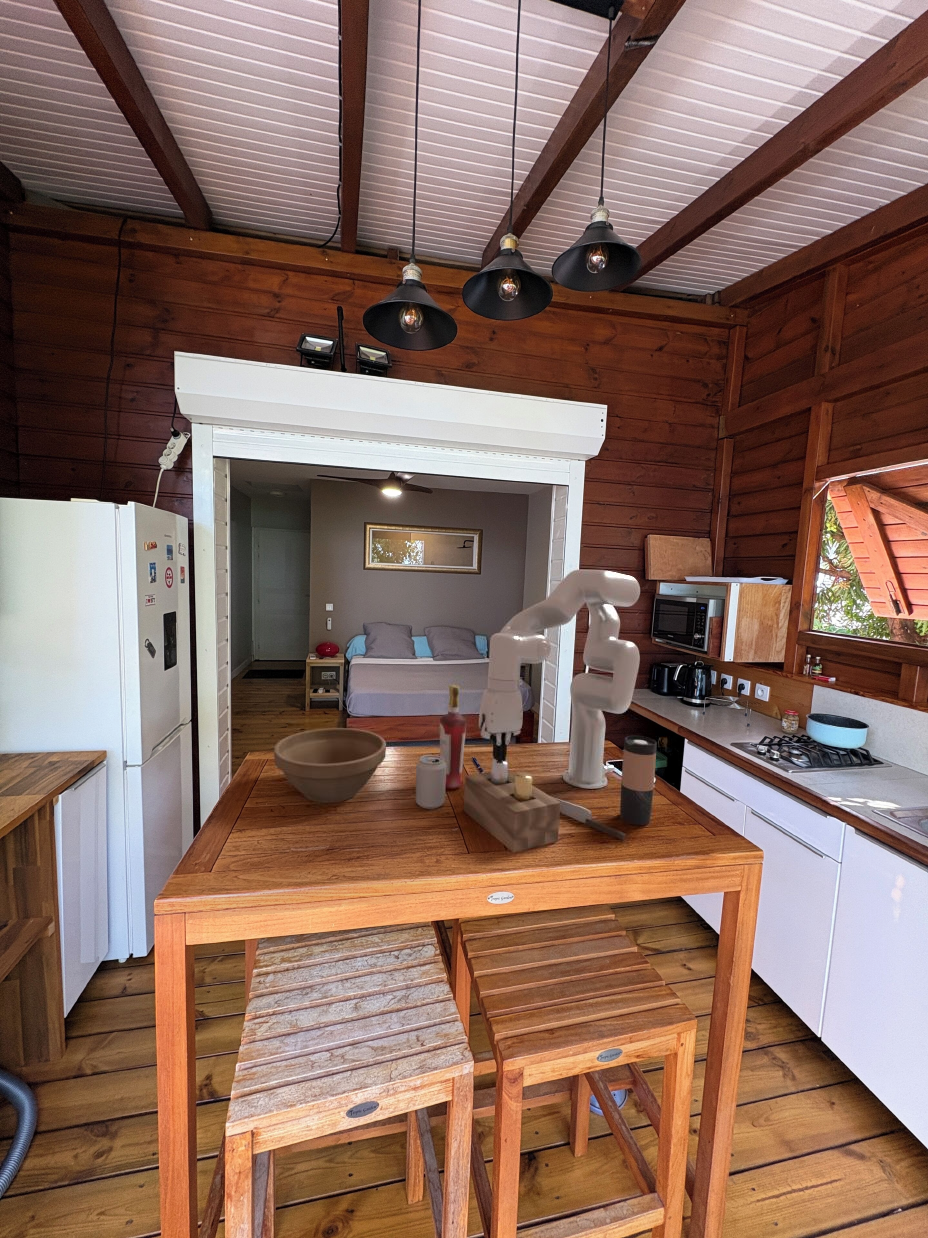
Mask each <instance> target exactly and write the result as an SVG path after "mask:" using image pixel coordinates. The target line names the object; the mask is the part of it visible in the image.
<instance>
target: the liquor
mask: <svg viewBox="0 0 928 1238" xmlns="http://www.w3.org/2000/svg"><path fill="white" fill-rule="evenodd" d="M448 690H449V702H448V710H447V713H446V714H443V716H440V718H439V749H440V752H439V756H441V757H443V758H444V762H445V763H446V784H445V790H456V789H458V788H460V787H461V786H462V784H463V782H464V781H463V779H462V776H463V764H464V762H463V761H464V753H465V752H464V751H465V742H466V741H465V740H466V730H467V718H466V717H464V716H463V715H462V714H460V712H459V711H460V710H459V696H460V686H458V685H449V689H448Z"/></svg>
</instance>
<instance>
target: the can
mask: <svg viewBox="0 0 928 1238" xmlns="http://www.w3.org/2000/svg"><path fill="white" fill-rule="evenodd" d="M415 773H416V774H415V775H416V778H415V803H416V804H417V805H418V806H419V807H420V808H423V809H427V810H429V809H430V810H433V809H439V808H440V807H441V806H442V805H443V804H444V803H445V801H446V789H445V784H446V763H445V762H444V758H443V757H441V756H440V755H438V754H425V755H422V756H420V757H419V761H418V762H417V763H416V772H415Z"/></svg>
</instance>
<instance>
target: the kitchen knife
mask: <svg viewBox="0 0 928 1238" xmlns="http://www.w3.org/2000/svg"><path fill="white" fill-rule="evenodd" d="M549 796H550V797H552V798H554V799H555V800H557V801H559V802H560V813H561V814H563V815H564V816H567V817H570V818H572V819H574V820H576V821H578V822H581V823H583V824H585V825H587V826H588V827H590V828H593V829H596V830H597V831H600V832H602V833H605V834H607V835H609V836H611V837H613V838H616V839H619V840H620V841H624V840H626V838H627V837H626V836H627V835H626V833H625V832H623V831H621V830H618V829H616V828H613V827H610V826H608V825H607V824H605V823H602V822H600V821H598V820H595V819H593V818H592V817H593V816H592V812H591V810H590V809H588V808H585V807H584V806H580V805H578V804H575V803H572V802H569V801H566V800H563V799H559V798H556V797H554V796H551V795H549Z"/></svg>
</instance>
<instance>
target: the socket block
mask: <svg viewBox="0 0 928 1238" xmlns="http://www.w3.org/2000/svg"><path fill="white" fill-rule="evenodd" d="M515 774H516V773H513V772H512V771H511V770H509V769H508V774H507V784H503V785H497V786H496V785H494V784H493V783H491V770H490V771H486V772H485V771H484V772H480V773H479V772H478V773H474V774H468V775H465V778H464V779H465V780H464V798H463V799H464V800H463V801H464V802H463V811H464V812H465V813H466V814H467V815H469V817H471V819H473V820H474V821H475V822H477V823H478V824H479V825H480V826H481V827H482V828H484V829H485V830H486V831H487V832H488V833H490V834H491V835H492V836H493V837H494V838H496V839H497V841H499V842H500V843H501V844H502V845H503V846H505V847H506V848H507V849H508V850H509V851H511V852H512V853H513V854H515V853H518V852H522V851H526V850H530V849H533V848H534V849H535V848H537V847H540V846H545V845H548V844H552V843H556V842H559V829H560V815H561V814H560V813H561V812H560V802H559V801H557V800H555V799H554V798H555V797H554V798H552V797H553V796H551V795H548V794H547V793H545V792H544V791H542V790H541V789H539V788H537V787H536V786H534V785H533V784H532V797H531V800H529V801H524V802H519V801H517V800H516V799H514V782H515ZM550 796H551V797H550Z"/></svg>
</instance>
